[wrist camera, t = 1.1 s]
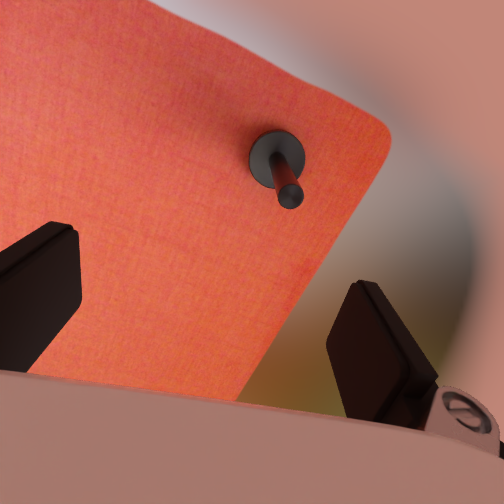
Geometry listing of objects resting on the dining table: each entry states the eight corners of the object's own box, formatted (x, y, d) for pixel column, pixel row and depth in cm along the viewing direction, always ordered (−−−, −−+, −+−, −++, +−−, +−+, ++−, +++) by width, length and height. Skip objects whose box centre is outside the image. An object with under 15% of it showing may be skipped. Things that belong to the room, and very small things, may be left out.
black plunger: (239, 145, 32) (232, 176, 20) (290, 119, 31) (316, 134, 19) (263, 194, 35) (269, 248, 22) (311, 171, 34) (346, 215, 21)
